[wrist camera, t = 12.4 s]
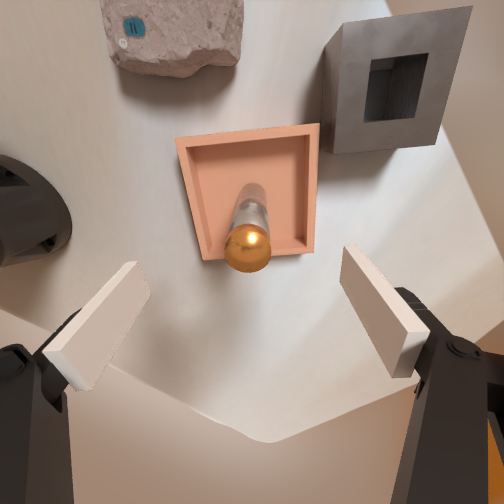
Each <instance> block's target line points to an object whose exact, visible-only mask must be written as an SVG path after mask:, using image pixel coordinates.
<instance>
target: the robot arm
mask: <svg viewBox="0 0 504 504" xmlns="http://www.w3.org/2000/svg"><path fill="white" fill-rule="evenodd" d="M70 234H71V218H70V214H69V211H68V209H67V207H66V205H65V203H64V201H63V199H62V198H61V196H60V195H59V193H58V192H57V191H56V189H55V188H54V187H53V186H52V185H51V184H50V183H49V182H48V181H47V180H46V179H45V178H44V177H43V176H42V175H40V174H39V173H38V172H37V171H35V170H34V169H32V168H31V167H29V166H27V165H26V164H24V163H22V162H20V161H18V160H16V159H13V158H11V157H7V156H4V155H0V267H4V266H9V265H13V264H17V263H22V262H26V261H30V260H35V259H39V258H43V257H45V256H48V255H50V254H52V253H53V252H55V251H57V250H58V249H60V248H61V247H63V246H64V245H65V244H66V243H67V241H68V240H69V237H70ZM340 283H341V285H342V287H343V289H344V291H345V293H346V294H347V296H348V298H349V300H350V302H351V304H352V306H353V307H354V309H355V311H356V313H357V315H358V317H359V318H360V320H361V322H362V324H363V326H364V328H365V330H366V331H367V333H368V335H369V337H370V339H371V341H372V343H373V344H374V346H375V348H376V350H377V352H378V354H379V355H380V357H381V359H382V361H383V363H384V365H385V367H386V368H387V370H388V372H389V374H390V376H391V378H407V377H411V376H412V373H413V371H414V369H415V370H416V371H417V373H418V374H419V376H420V377H421V378H420V381H419V383H418V385H417V387H416V389H415V391H414V393H416V396H415V400H414V405H413V409H412V414H411V417H410V422H409V426H408V430H407V434H406V439H405V443H404V447H403V451H402V456H401V460H400V465H399V468H398V473H397V477H396V482H395V485H394V490H393V494H392V498H391V503H390V504H488V420H489V423H490V426H491V429H492V432H493V435H494V438H495V441H496V444H497V447H498V450H499V453H500V456H501V459H502V462H503V465H504V355H499V354H494V353H488V352H484V351H482V350H481V349H480V348H479V347H478V346H476V345H475V344H474V343H472V342H470V341H468V340H466V339H464V338H462V337H458V336H454V335H452V334H451V333H450V332H449V331H448V330H447V329H446V327H445V326H444V325H443V324H442V323H441V322H440V321H439V320H438V319H437V318H436V317H435V316H434V315H433V314H432V313H431V312H430V311H429V310H427V307H426V306H425V305H424V304H423V303H421V301H420V300H419V299H418V298H417V297H416V296H415V295H414V294H413V293H412V292H410V291H408V290H407V289H405V288H403V287H399V288H393V287H392V286H391V284H390V283H389V282H388V281H387V280H386V279H385V277H384V276H383V275H382V274H381V273H380V271H379V270H378V269H377V268H376V267H375V266H374V264H373V263H372V262H371V261H370V260H369V259H368V257H367V256H366V255H365V254H364V253H363V252H362V250H361V249H360V248H359V247H358V246H357V245H346V246H344V249H343V258H342V266H341V274H340ZM150 295H151V292H150V290H149V287H148V285H147V282H146V280H145V278H144V275H143V273H142V270H141V268H140V265H139V263H138V261H133V262H126V263H125V264H124V265H123V266H122V267H121V268H120V269H119V270H118V272H117V273H116V274H115V275H114V276H113V277H112V278H111V279H110V280H109V281H108V282H107V283H106V284H105V285H104V286H103V287H102V288H101V289H100V291H99V292H98V293H97V294H96V295H95V296H94V297H93V298H92V299H91V300H90V301H89V302H88V303H87V304H86V305H85V306H84V307H83V308H81V309H80V310H78V311H77V312H75V313H74V314H72V315H71V316H70V317H69V318H68V319H67V320H66V321H65V322H64V323H63V325H61V326H60V327H59V328H58V329H57V330H56V332H54V333H53V334H52V335H51V336H50V337H49V338H48V339H47V340H46V341H45V343H44V344H43V345H42V346H41V347H40V348H39V349H38V350H37V351H36V352H35V353H34V354H33V355H31V354H30V353H29V352H28V351H27V349H26V348H25V347H24V346H23V345H21V344H12V345H9V346H6V347H3V348H1V349H0V504H74V497H73V482H72V467H71V451H70V437H69V422H68V407H67V396H66V393H65V392H64V389H65V388H66V387H67V385H68V384H70V385H71V387H72V388H73V389H74V390H75V391H91V390H92V388H93V387H94V385H95V384H96V382H97V381H98V379H99V378H100V376H101V374H102V372H103V371H104V369H105V368H106V366H107V365H108V363H109V361H110V360H111V358H112V357H113V355H114V353H115V352H116V350H117V348H118V347H119V345H120V344H121V342H122V340H123V339H124V337H125V336H126V334H127V332H128V331H129V329H130V327H131V326H132V324H133V323H134V321H135V319H136V318H137V316H138V315H139V313H140V311H141V310H142V308H143V307H144V305H145V303H146V302H147V300H148V298H149V297H150ZM487 419H488V420H487Z"/></svg>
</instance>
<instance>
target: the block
mask: <svg viewBox="0 0 504 504" xmlns="http://www.w3.org/2000/svg"><path fill="white" fill-rule="evenodd" d="M472 8H473V6H466V7H458V8H451V9H444V10H436V11H429V12H422V13H414V14H407V15H399V16H392V17H385V18H377V19H370V20H362V21H355V22H348V23H343V24H342V26H341V27H340V28H339V29H338V31H337V32H336V33H335V34H334V36H333V37H332V38H331V39H330V40H329V42H328V43H327V44H326V45H325V53H324V74H323V94H322V115H321V136H320V150H322V151H325V152H328V153H330V154H333V155H335V154H345V153H356V152H366V151H377V150H387V149H397V148H408V147H418V146H429V145H435V143H436V139H437V136H438V132H439V128H440V125H441V121H442V117H443V114H444V110H445V106H446V102H447V99H448V95H449V91H450V88H451V84H452V81H453V77H454V73H455V70H456V66H457V62H458V59H459V55H460V51H461V48H462V44H463V40H464V37H465V33H466V30H467V26H468V22H469V19H470V15H471V11H472ZM385 69H392V75H391V81H390V87H389V93H388V99H387V105H386V111H385V117H384V120H376V121H366V122H363V119H364V111H365V104H366V96H367V88H368V80H369V72H370V71H377V70H385Z"/></svg>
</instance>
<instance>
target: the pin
mask: <svg viewBox="0 0 504 504" xmlns="http://www.w3.org/2000/svg"><path fill="white" fill-rule="evenodd" d="M224 255H225V258H226V260H227V262H228V263H229V265H230V266H231V267H233V268H234V269H236V270H238V271H241V272H246V273H251V272H256V271H259V270H261V269H262V268H264V267H265V266H266V265H267V264H268V262H269V261H270V258H271V242H270V232H269V222H268V212H267V202H266V193H265V190H264V188H263V187H262V186H261V185H259V184H257V183H249V184H246V185H245V186H244V187H243V188H242V189H241V192H240V195H239V199H238V202H237V206H236V209H235V213H234V216H233V220H232V223H231V227H230V230H229V234H228V237H227V241H226V244H225V248H224Z"/></svg>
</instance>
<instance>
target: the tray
mask: <svg viewBox="0 0 504 504" xmlns="http://www.w3.org/2000/svg"><path fill="white" fill-rule="evenodd" d="M319 129H320V123H312V124H302V125H293V126H283V127H274V128H265V129H255V130H246V131H236V132H227V133H218V134H208V135H199V136H189V137H181V138H175V143H176V147H177V151H178V156H179V160H180V164H181V168H182V173H183V177H184V181H185V186H186V190H187V194H188V199H189V203H190V207H191V211H192V216H193V220H194V224H195V229H196V233H197V237H198V241H199V246H200V250H201V254H202V259H203V260H215V259H226V258H225V255H224V248H225V244H226V241H227V237H228V234H229V230H230V227H231V223H232V220H233V216H234V213H235V209H236V206H237V202H238V199H239V195H240V192H241V189H242V188H243V187H244V186H245V185H246V184H249V183H257V184H259V185H261V186H262V187H263V188H264V190H265V193H266V202H267V212H268V222H269V232H270V242H271V256H275V255H290V254H305V253H314V237H315V216H316V194H317V172H318V151H319Z"/></svg>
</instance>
